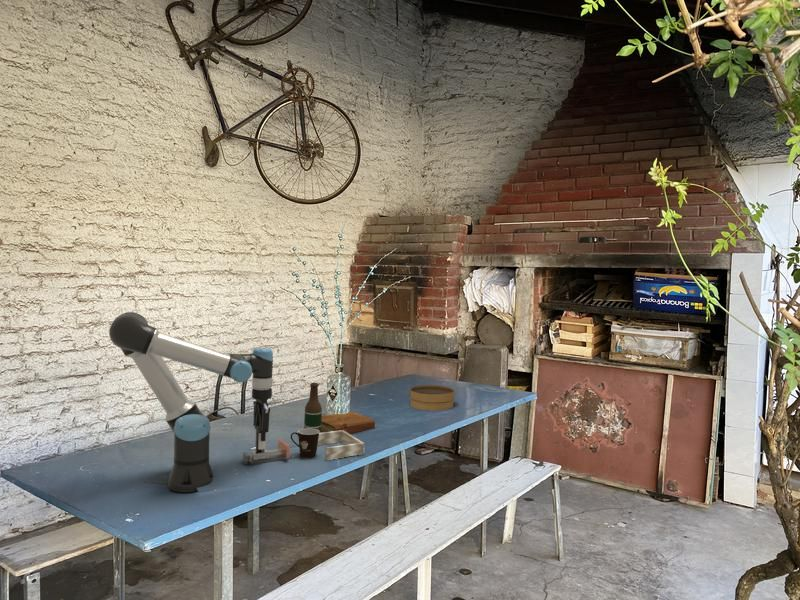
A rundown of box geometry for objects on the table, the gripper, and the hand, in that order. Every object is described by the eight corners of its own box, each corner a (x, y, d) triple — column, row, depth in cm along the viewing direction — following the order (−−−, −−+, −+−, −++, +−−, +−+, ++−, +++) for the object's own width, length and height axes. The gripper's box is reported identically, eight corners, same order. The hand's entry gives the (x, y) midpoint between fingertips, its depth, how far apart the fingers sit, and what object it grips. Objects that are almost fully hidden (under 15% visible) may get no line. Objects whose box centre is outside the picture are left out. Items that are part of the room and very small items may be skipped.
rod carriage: (256, 462, 217) (257, 430, 216) (248, 454, 226) (249, 423, 225) (289, 457, 224) (290, 426, 223) (280, 450, 233) (281, 420, 232)
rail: (246, 465, 218) (246, 456, 218) (242, 461, 222) (242, 452, 222) (292, 458, 228) (292, 449, 228) (288, 455, 231) (288, 446, 231)
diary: (335, 439, 257) (335, 426, 256) (312, 429, 271) (312, 417, 270) (374, 431, 272) (375, 419, 272) (350, 422, 286) (351, 411, 286)
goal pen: (326, 460, 227) (327, 448, 227) (306, 445, 244) (307, 434, 244) (364, 455, 236) (364, 443, 236) (342, 441, 253) (343, 430, 253)
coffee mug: (322, 456, 232) (323, 431, 232) (305, 460, 226) (306, 435, 226) (305, 448, 240) (306, 425, 240) (288, 453, 234) (289, 429, 233)
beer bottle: (314, 431, 265) (316, 380, 264) (324, 435, 260) (326, 383, 258) (300, 434, 260) (302, 382, 258) (310, 439, 254) (312, 385, 253)
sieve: (400, 408, 317) (400, 388, 316) (427, 401, 336) (428, 382, 335) (435, 417, 301) (436, 396, 300) (462, 410, 320) (463, 390, 319)
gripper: (278, 391, 216) (276, 452, 218) (264, 383, 230) (262, 440, 232) (259, 393, 212) (257, 455, 214) (246, 384, 226) (244, 442, 228)
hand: (260, 447), depth 223 cm, fingers closed on rod carriage, 3 cm apart
